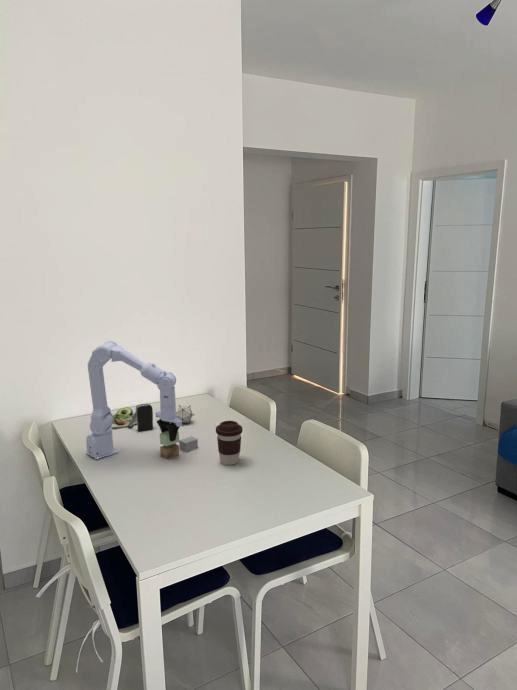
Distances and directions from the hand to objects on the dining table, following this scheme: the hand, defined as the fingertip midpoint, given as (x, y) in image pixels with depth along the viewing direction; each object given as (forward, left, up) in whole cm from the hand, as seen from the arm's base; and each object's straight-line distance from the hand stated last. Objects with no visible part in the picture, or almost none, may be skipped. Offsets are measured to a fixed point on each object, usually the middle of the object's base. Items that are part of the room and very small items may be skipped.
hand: (169, 439), depth 202 cm
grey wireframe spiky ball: (+25, +24, -7) cm, 35 cm away
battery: (+8, +30, -7) cm, 32 cm away
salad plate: (+6, +46, -7) cm, 47 cm away
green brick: (0, 0, -2) cm, 2 cm away
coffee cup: (+13, -20, -7) cm, 25 cm away
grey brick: (+9, 0, -7) cm, 11 cm away
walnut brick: (0, 0, -7) cm, 7 cm away
